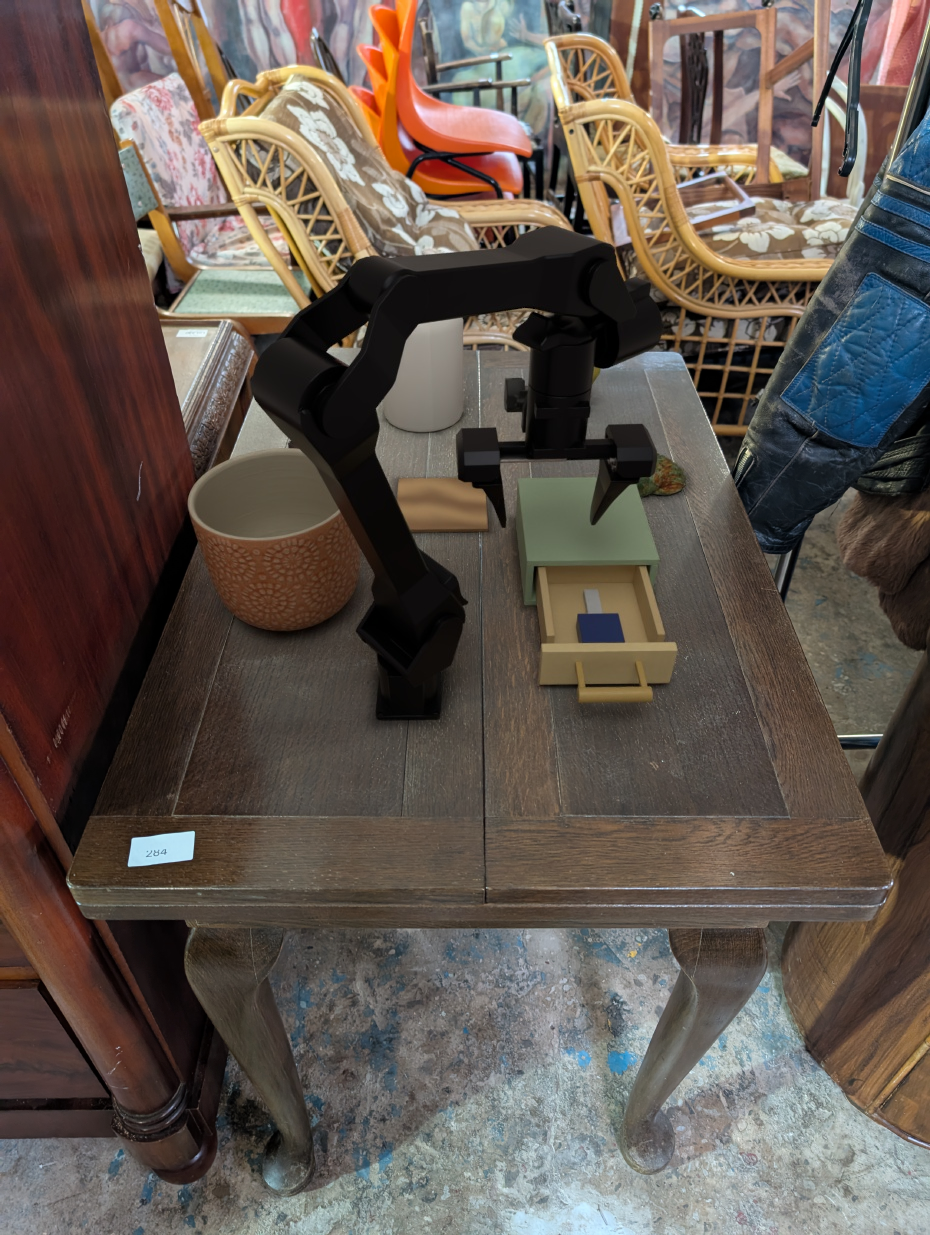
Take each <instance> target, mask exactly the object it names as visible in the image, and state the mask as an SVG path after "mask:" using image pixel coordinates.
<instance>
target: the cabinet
mask: <svg viewBox="0 0 930 1235" xmlns="http://www.w3.org/2000/svg"><path fill="white" fill-rule="evenodd" d="M597 477H598V476H595V477H592V476H590V477H589V476H588V477H587V476H586V477H585V476H584V477H518V478H517V483H516V504H515V506H516V507H515V530H516V538H517V540H516V541H517V549H518V557H519V566H520V569H519V570H520V578H521V587H522V596H523V597H522V598H523V606H537V601H536V593H535V571H536V566H593V565H646V568H647V572H648V575H649V579H650V582H651V586H652V589H653V590H654V589H655V588H654V587H655V583H656V579H657V578H656V577H657V574H658V569H659V564H660V560H661V559H660V556H659V553H658V550H657V546H656V543H655V540H654V537H653V533H652V531H651V527H650V524H649V521H648V518H647V514H646V511H645V507H644V505H643V502H642V499H641V498H642V497H641V496H640V495H639V492H638V488H637V485H636V484H632V485H629V486H628V487H627V488H626V489H625V490H624V491H623V492H622V493H621V494H620V495H619V496H618V497H617V498H616V499H615V500H614V501H613V503H612V504H611V505H610V506H609V508H608V509H607V510H606V512H605V513H604V514H603V516H602V517H601V518H600V519H599V521H598V522H597V523H596V525H591V523H590V509H591V503H592V499H593V494H594V490H595V486H596V481H597Z"/></svg>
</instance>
